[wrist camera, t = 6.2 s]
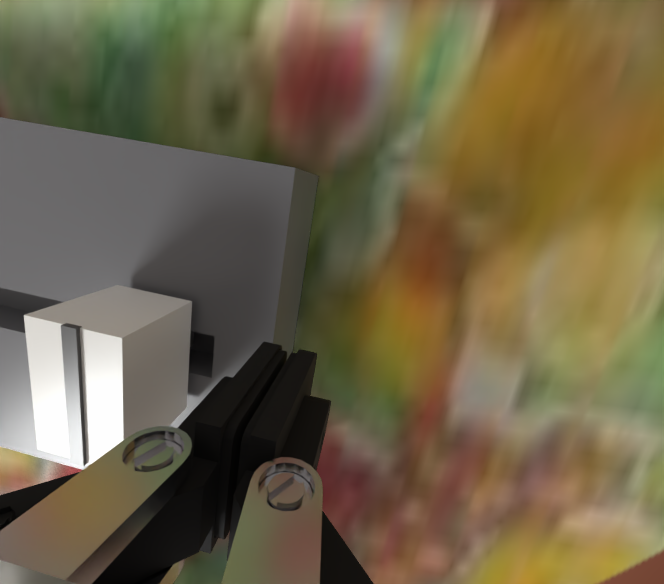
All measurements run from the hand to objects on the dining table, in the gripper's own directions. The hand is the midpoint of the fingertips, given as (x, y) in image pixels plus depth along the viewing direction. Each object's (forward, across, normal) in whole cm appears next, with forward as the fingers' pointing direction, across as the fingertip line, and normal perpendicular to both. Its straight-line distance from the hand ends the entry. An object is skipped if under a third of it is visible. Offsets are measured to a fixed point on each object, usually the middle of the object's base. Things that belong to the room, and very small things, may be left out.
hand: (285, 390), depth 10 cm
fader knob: (+2, +5, 0) cm, 5 cm away
